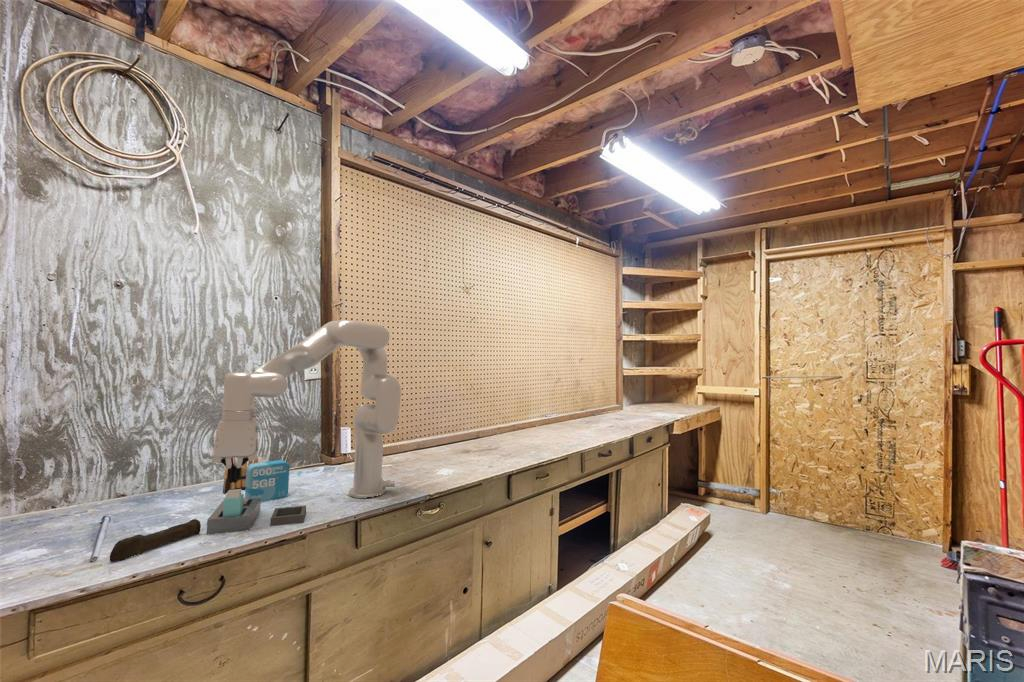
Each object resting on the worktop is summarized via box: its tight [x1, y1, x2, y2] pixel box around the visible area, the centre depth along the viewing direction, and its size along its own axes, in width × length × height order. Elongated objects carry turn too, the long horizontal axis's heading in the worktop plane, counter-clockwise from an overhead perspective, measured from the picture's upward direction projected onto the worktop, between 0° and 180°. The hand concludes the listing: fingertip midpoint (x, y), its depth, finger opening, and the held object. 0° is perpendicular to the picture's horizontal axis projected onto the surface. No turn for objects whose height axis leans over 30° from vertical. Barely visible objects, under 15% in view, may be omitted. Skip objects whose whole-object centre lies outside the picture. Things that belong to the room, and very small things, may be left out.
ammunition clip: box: [222, 457, 259, 495], centre depth 153 cm, size 11×2×12 cm, turn 139°
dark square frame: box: [269, 505, 307, 527], centre depth 127 cm, size 8×8×2 cm
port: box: [206, 496, 262, 535], centre depth 124 cm, size 10×16×5 cm, turn 21°
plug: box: [223, 489, 245, 517], centre depth 120 cm, size 4×4×10 cm
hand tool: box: [109, 518, 202, 562], centre depth 107 cm, size 19×4×5 cm, turn 156°
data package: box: [244, 459, 290, 503], centre depth 144 cm, size 12×4×12 cm, turn 134°
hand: (233, 481), depth 120 cm, fingers closed
